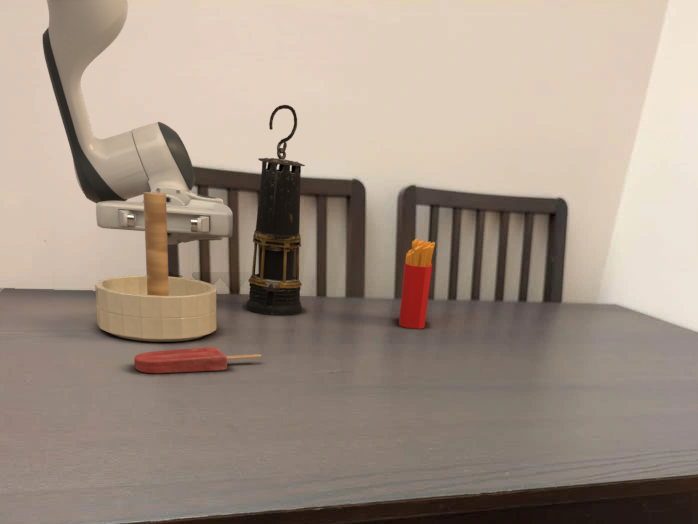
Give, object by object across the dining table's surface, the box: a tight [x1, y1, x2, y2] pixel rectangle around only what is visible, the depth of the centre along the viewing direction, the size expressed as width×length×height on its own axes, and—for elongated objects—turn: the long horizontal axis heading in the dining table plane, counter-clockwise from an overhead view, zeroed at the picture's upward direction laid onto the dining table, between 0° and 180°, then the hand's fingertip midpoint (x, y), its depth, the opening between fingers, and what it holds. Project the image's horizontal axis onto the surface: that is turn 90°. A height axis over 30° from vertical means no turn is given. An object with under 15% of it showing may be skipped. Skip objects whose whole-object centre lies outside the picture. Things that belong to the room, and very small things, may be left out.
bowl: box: [94, 274, 218, 343], centre depth 99 cm, size 16×16×6 cm
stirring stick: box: [142, 192, 169, 296], centre depth 97 cm, size 4×4×17 cm
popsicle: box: [133, 346, 263, 374], centre depth 85 cm, size 4×2×15 cm
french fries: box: [398, 237, 436, 330], centre depth 115 cm, size 9×4×13 cm, turn 177°
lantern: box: [245, 104, 306, 316], centre depth 113 cm, size 9×9×30 cm
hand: (162, 223), depth 106 cm, fingers open, 8 cm apart
